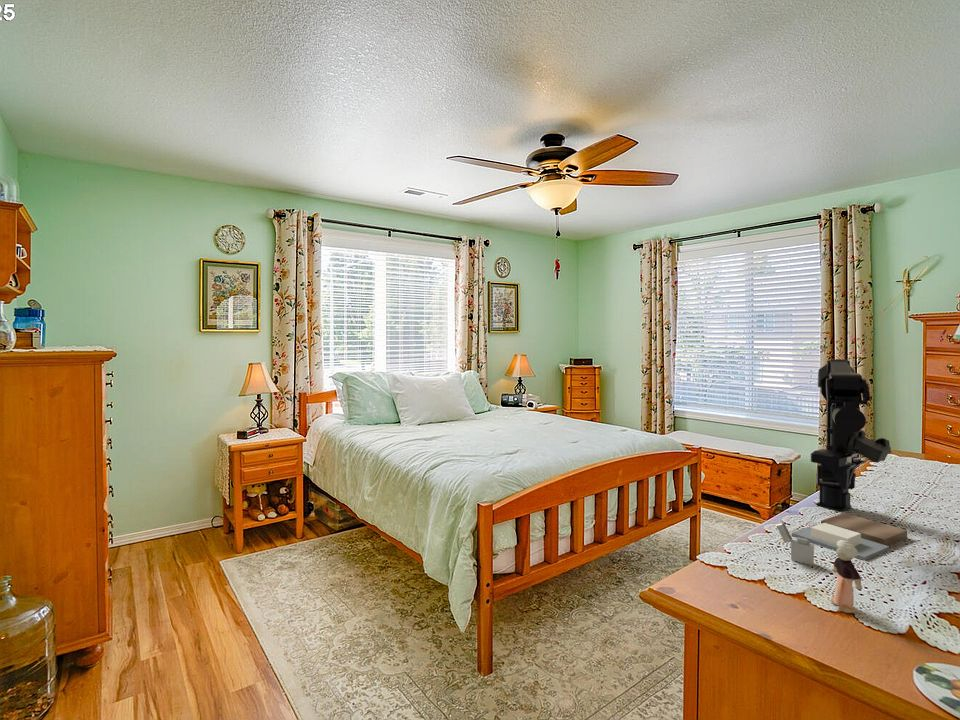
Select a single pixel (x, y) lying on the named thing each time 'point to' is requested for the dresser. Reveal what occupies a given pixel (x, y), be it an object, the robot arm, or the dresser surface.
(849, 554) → the grandmother figurine
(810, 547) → the lighter
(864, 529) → the board
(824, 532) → the tile
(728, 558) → the dresser surface
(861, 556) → the mat
